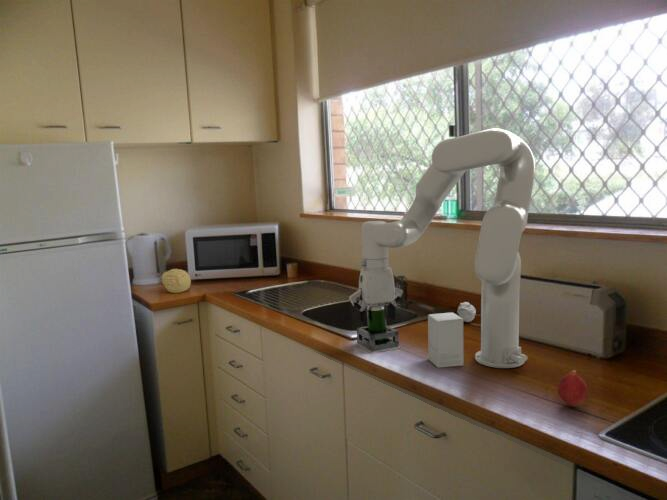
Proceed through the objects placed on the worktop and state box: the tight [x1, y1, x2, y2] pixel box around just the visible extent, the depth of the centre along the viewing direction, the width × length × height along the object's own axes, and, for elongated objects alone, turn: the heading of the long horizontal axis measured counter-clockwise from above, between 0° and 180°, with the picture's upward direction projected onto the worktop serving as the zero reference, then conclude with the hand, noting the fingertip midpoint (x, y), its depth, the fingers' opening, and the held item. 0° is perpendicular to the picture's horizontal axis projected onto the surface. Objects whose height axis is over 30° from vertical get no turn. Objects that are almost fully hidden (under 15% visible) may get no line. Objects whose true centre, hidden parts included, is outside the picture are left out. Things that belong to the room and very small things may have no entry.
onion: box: [557, 370, 589, 408], centre depth 112 cm, size 6×6×8 cm
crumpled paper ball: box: [456, 301, 477, 323], centre depth 178 cm, size 6×7×7 cm
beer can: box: [366, 303, 387, 344], centre depth 156 cm, size 5×5×12 cm
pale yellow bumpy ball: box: [161, 268, 192, 294], centre depth 244 cm, size 11×12×11 cm
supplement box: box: [427, 311, 465, 369], centre depth 141 cm, size 7×7×13 cm
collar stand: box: [355, 324, 401, 354], centre depth 157 cm, size 10×10×5 cm
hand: (377, 321), depth 156 cm, fingers open, 9 cm apart
